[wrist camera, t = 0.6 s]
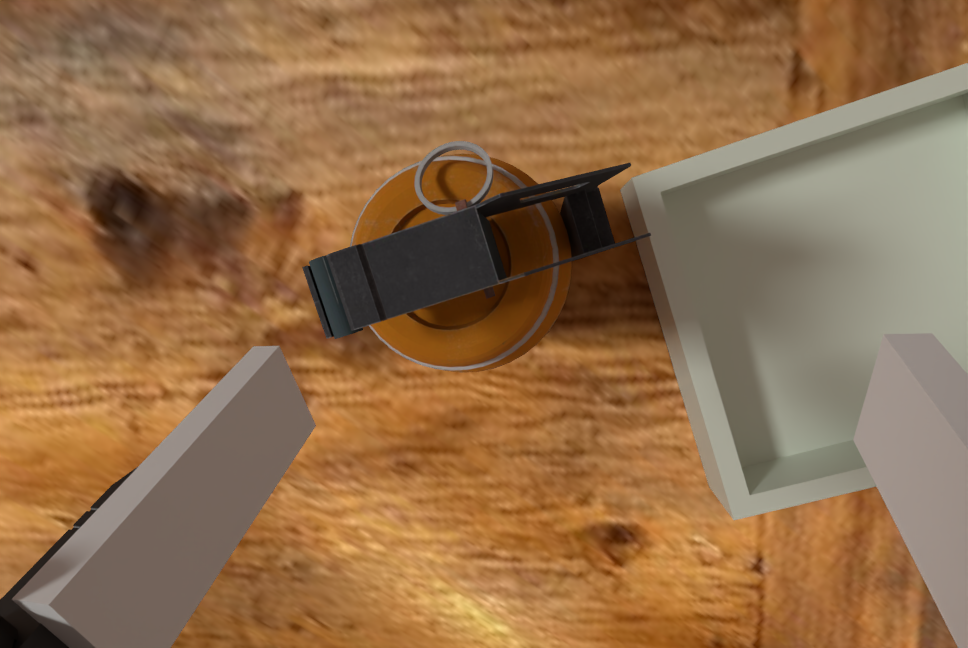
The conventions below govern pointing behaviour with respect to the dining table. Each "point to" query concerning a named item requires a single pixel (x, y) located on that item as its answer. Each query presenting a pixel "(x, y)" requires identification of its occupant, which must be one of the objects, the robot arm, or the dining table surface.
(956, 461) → the robot arm
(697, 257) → the tray
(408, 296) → the canister
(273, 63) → the dining table surface
